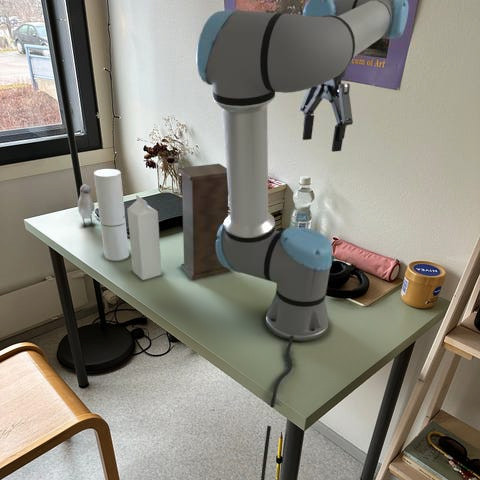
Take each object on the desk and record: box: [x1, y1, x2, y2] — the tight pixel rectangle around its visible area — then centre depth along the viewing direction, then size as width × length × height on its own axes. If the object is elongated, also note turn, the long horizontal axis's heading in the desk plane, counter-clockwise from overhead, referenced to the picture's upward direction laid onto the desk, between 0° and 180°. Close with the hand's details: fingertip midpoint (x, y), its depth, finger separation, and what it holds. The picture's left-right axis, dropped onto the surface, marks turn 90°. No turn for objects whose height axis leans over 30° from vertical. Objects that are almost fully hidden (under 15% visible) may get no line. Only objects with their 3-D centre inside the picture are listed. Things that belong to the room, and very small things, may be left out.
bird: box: [77, 183, 96, 228], centre depth 156 cm, size 5×14×15 cm, turn 29°
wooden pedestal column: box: [177, 163, 231, 281], centre depth 129 cm, size 12×8×29 cm, turn 119°
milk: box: [126, 195, 162, 281], centre depth 128 cm, size 6×6×22 cm
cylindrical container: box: [93, 168, 130, 262], centre depth 136 cm, size 7×7×25 cm
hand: (321, 145), depth 133 cm, fingers open, 13 cm apart
